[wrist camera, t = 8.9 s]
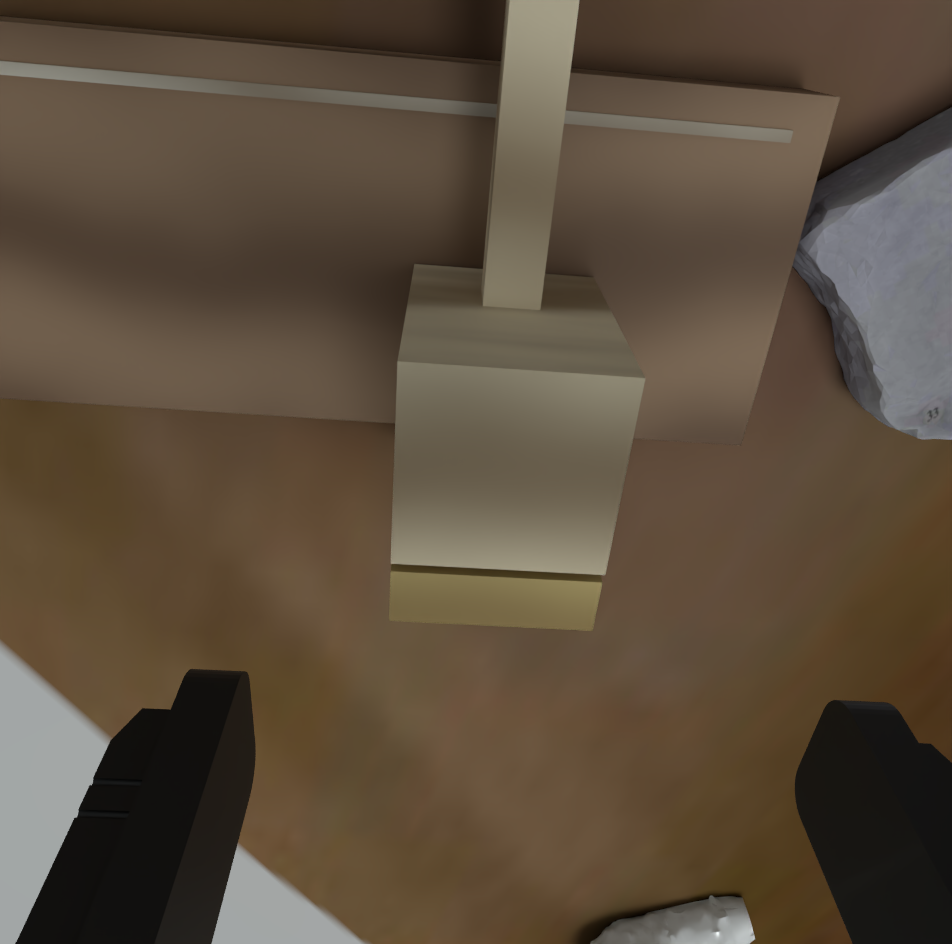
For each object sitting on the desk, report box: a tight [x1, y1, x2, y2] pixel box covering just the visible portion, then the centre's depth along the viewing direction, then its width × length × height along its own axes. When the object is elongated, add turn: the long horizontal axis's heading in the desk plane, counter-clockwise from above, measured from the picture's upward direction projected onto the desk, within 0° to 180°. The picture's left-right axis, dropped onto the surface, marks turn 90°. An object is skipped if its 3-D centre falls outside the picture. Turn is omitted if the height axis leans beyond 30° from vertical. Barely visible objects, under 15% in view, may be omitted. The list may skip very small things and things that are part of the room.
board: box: [0, 16, 840, 445], centre depth 23 cm, size 10×28×2 cm, turn 85°
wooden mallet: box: [389, 0, 645, 631], centre depth 19 cm, size 15×5×9 cm, turn 175°
